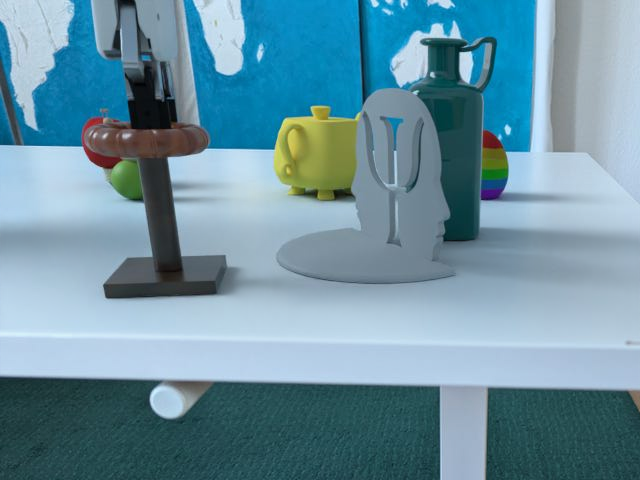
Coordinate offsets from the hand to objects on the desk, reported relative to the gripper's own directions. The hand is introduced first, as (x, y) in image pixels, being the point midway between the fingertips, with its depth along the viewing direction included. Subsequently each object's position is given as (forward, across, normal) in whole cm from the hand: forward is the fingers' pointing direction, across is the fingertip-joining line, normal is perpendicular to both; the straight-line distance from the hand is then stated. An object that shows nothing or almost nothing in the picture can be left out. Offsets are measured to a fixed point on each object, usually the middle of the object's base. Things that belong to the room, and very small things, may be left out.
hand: (158, 144), depth 64 cm
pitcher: (+12, -13, +29) cm, 34 cm away
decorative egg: (+12, -38, +39) cm, 56 cm away
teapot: (+12, -43, +16) cm, 48 cm away
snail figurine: (+12, -39, -12) cm, 43 cm away
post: (+12, +4, 0) cm, 12 cm away
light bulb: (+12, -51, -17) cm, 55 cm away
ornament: (+12, -2, +16) cm, 20 cm away
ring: (-1, +4, 0) cm, 4 cm away
